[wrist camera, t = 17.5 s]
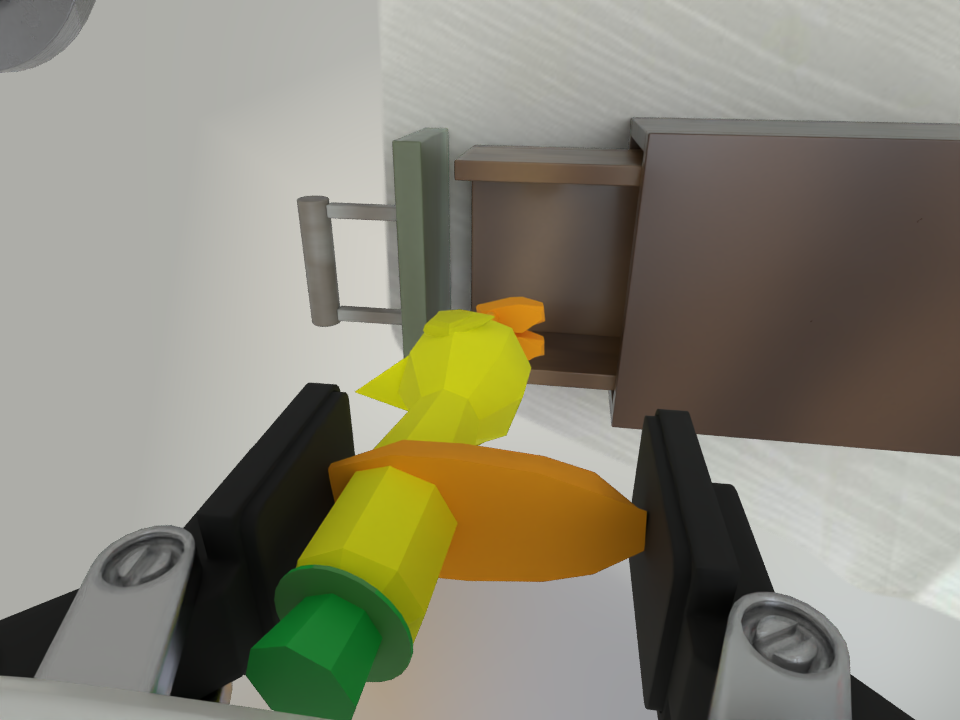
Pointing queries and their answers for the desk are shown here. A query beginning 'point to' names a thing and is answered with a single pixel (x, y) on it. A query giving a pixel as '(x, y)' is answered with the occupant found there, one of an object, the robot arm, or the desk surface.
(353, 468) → the toy figure
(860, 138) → the cabinet
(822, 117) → the desk surface
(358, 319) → the drawer
